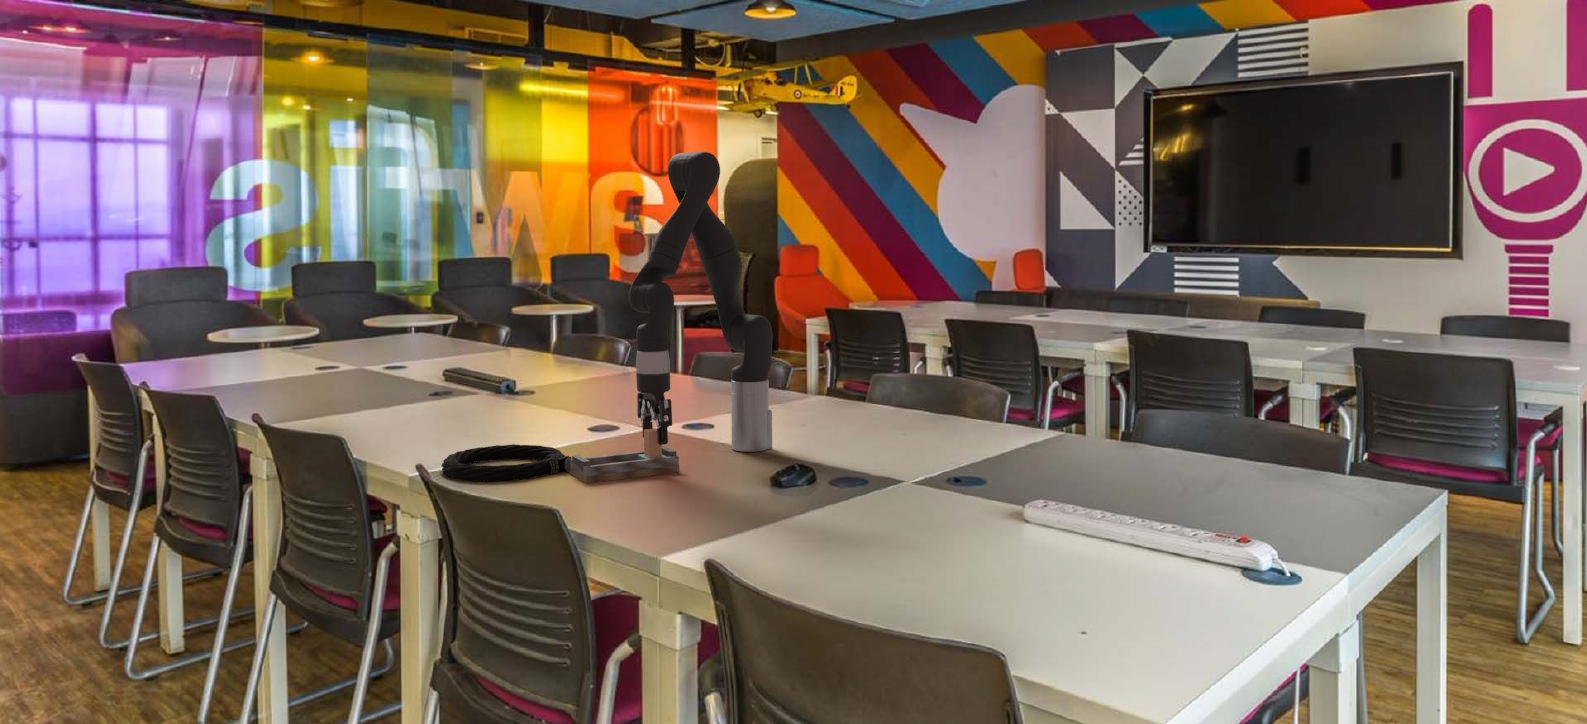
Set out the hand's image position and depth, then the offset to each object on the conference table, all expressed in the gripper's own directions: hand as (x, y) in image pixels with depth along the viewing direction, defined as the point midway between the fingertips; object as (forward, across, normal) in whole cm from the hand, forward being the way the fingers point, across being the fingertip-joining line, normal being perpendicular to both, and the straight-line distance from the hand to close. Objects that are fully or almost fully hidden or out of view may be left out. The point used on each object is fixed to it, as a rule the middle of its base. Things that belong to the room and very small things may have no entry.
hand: (655, 441), depth 260 cm
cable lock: (+7, +18, +28) cm, 34 cm away
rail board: (+6, 0, +8) cm, 10 cm away
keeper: (+5, 0, +1) cm, 5 cm away
